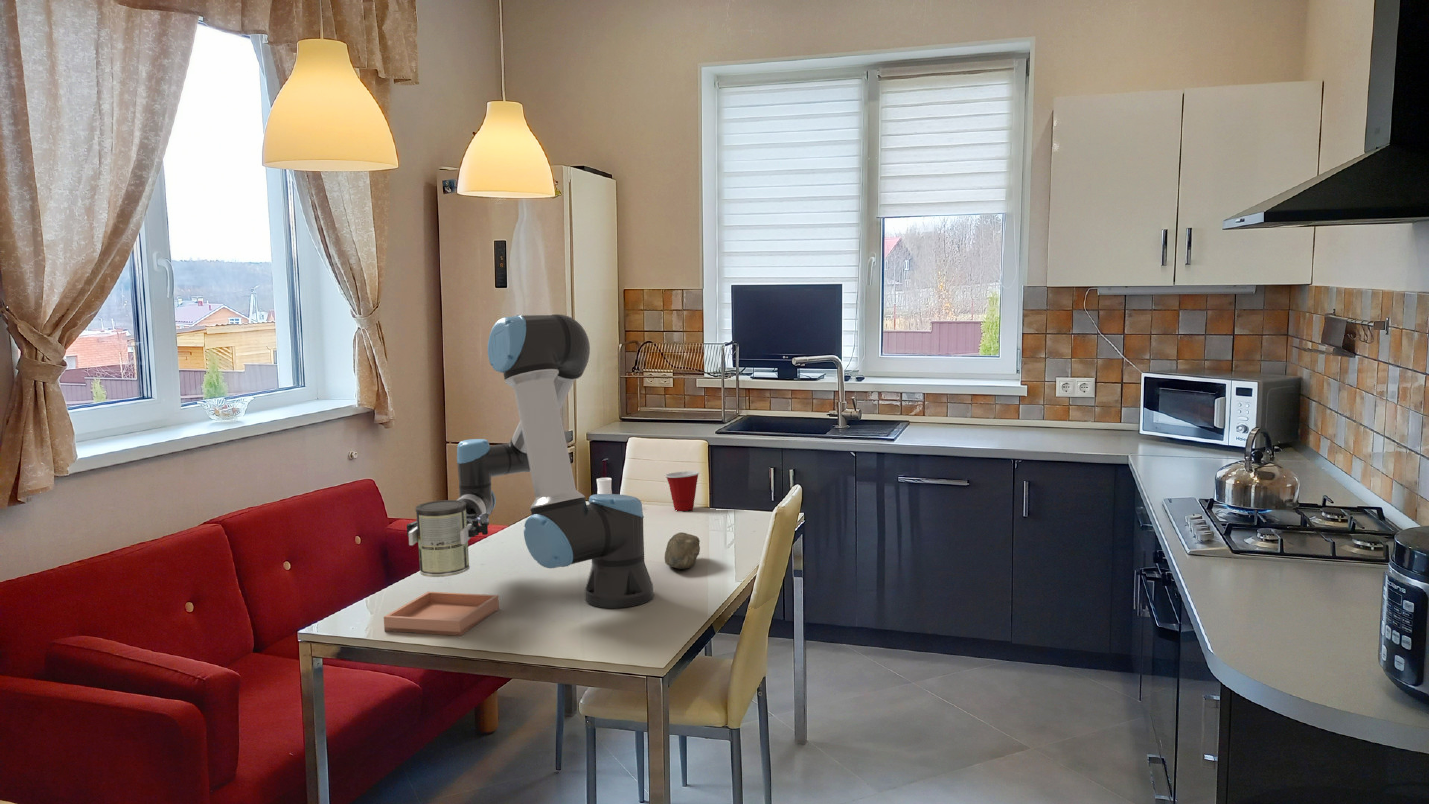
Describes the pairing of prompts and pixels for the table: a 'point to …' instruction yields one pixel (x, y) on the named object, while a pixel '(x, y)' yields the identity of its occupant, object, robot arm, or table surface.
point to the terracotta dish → (442, 613)
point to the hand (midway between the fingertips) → (436, 538)
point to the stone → (682, 550)
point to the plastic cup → (683, 489)
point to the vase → (604, 485)
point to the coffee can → (442, 538)
